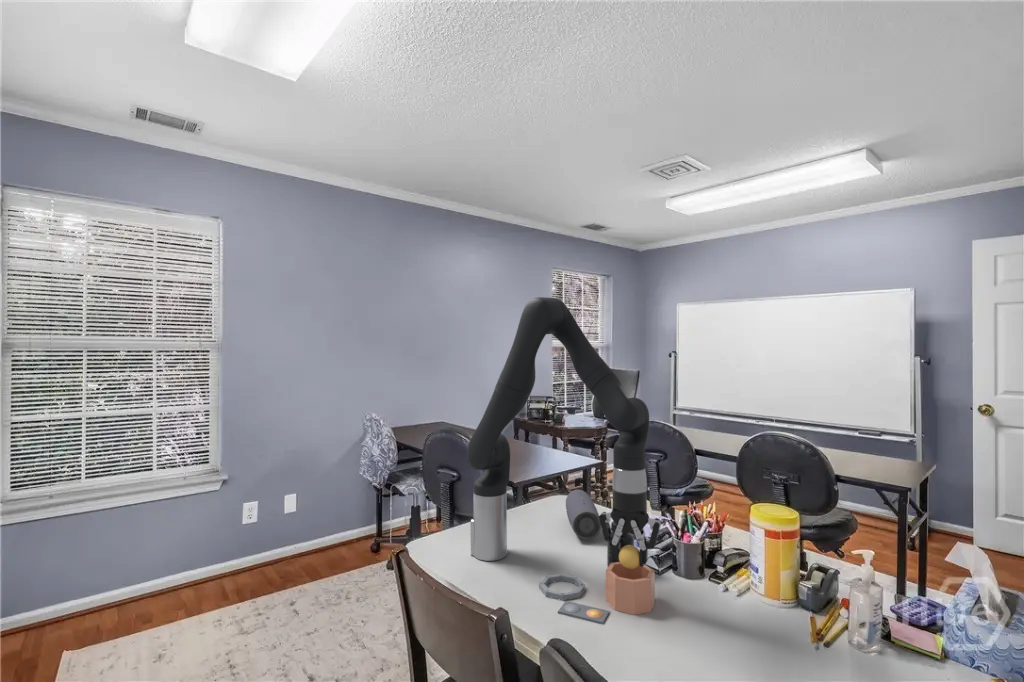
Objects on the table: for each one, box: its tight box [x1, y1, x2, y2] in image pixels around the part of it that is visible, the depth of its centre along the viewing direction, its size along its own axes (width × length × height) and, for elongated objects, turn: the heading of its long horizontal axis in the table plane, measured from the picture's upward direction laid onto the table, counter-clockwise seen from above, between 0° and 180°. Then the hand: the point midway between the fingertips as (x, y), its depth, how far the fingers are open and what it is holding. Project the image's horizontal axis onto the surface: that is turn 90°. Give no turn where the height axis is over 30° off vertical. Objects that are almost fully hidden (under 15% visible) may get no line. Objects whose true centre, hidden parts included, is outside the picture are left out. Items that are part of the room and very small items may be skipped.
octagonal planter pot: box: [605, 562, 656, 616], centre depth 114 cm, size 10×10×7 cm
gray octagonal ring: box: [538, 573, 586, 601], centre depth 120 cm, size 10×10×1 cm
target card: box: [557, 600, 610, 625], centre depth 109 cm, size 10×5×1 cm, turn 64°
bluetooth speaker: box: [565, 489, 602, 541], centre depth 159 cm, size 23×9×10 cm, turn 179°
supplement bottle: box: [606, 520, 635, 569], centre depth 130 cm, size 7×7×12 cm
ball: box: [619, 545, 640, 569], centre depth 114 cm, size 5×5×5 cm
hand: (630, 562), depth 114 cm, fingers closed on ball, 5 cm apart
